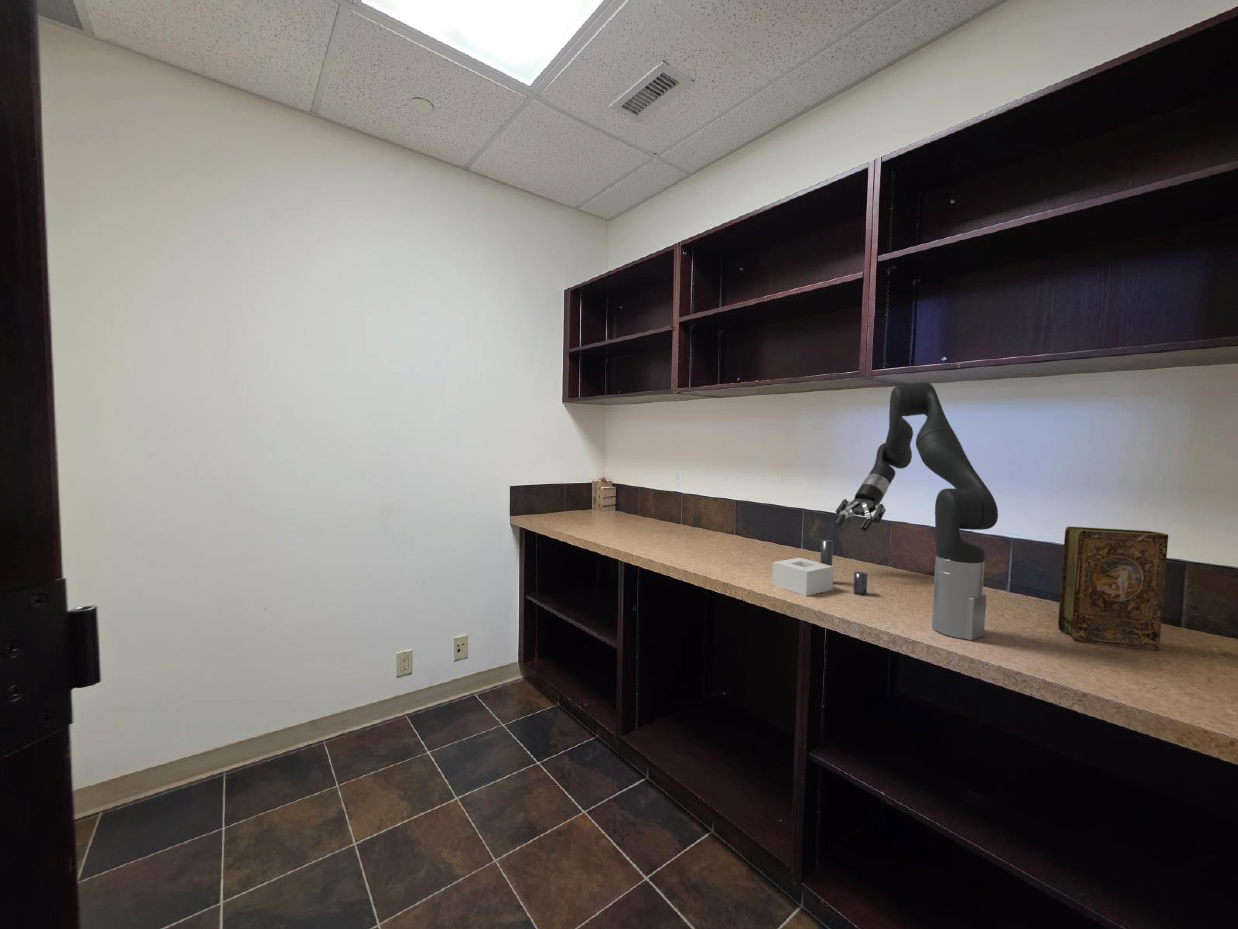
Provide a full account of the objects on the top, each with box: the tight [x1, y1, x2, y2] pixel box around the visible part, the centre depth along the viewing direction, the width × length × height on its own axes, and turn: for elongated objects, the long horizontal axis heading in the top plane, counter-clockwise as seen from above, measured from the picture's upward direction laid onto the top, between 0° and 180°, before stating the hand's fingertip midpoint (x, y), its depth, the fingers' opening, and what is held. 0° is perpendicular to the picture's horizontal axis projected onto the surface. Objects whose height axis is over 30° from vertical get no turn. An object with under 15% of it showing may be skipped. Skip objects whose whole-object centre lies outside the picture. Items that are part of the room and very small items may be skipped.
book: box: [1057, 526, 1169, 651], centre depth 110 cm, size 16×6×25 cm, turn 73°
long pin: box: [819, 539, 834, 566], centre depth 152 cm, size 3×3×13 cm
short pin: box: [852, 571, 868, 597], centre depth 142 cm, size 3×3×6 cm
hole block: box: [771, 557, 835, 597], centre depth 147 cm, size 12×12×7 cm
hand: (849, 527), depth 158 cm, fingers open, 8 cm apart
